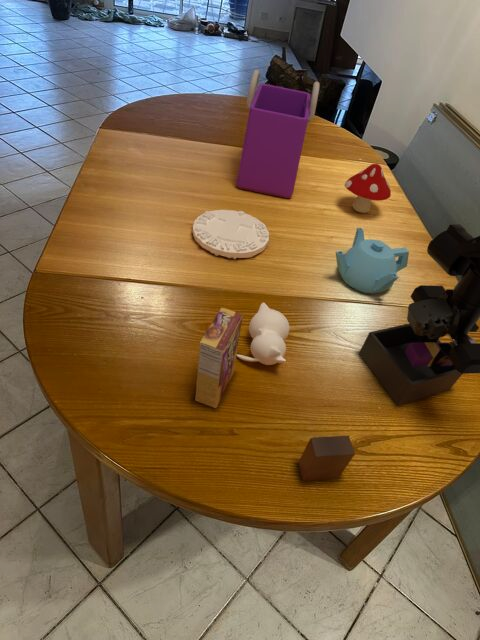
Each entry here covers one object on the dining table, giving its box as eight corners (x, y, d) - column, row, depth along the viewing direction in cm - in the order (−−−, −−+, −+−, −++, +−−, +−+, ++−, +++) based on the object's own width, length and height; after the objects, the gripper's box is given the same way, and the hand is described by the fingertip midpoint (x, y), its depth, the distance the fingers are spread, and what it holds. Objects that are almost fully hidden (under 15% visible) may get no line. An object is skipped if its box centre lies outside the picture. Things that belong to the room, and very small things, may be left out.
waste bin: (449, 389, 83) (466, 369, 78) (397, 406, 78) (411, 385, 73) (408, 341, 91) (421, 320, 86) (358, 353, 86) (369, 332, 82)
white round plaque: (281, 238, 113) (283, 228, 111) (240, 270, 100) (242, 261, 98) (221, 209, 119) (222, 199, 117) (176, 236, 107) (176, 226, 105)
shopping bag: (306, 201, 130) (335, 97, 109) (236, 194, 127) (252, 86, 106) (293, 162, 150) (315, 67, 129) (233, 155, 147) (245, 57, 126)
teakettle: (382, 308, 98) (400, 272, 90) (324, 280, 102) (337, 243, 95) (400, 278, 108) (419, 243, 100) (347, 253, 112) (361, 218, 105)
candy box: (212, 364, 79) (221, 305, 68) (233, 372, 78) (246, 314, 67) (192, 400, 72) (198, 341, 62) (215, 409, 72) (225, 351, 61)
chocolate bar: (442, 351, 80) (448, 342, 78) (451, 366, 77) (458, 357, 75) (404, 351, 78) (409, 342, 76) (412, 366, 76) (418, 357, 74)
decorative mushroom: (339, 218, 125) (356, 170, 115) (334, 196, 135) (349, 150, 125) (385, 225, 126) (405, 178, 116) (377, 203, 136) (395, 158, 126)
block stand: (333, 460, 68) (348, 435, 62) (338, 478, 66) (355, 454, 60) (297, 463, 67) (310, 437, 61) (302, 481, 65) (316, 456, 59)
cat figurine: (280, 341, 72) (280, 294, 81) (224, 354, 76) (230, 308, 84) (296, 370, 78) (295, 323, 86) (244, 381, 81) (248, 335, 90)
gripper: (403, 257, 72) (370, 322, 82) (457, 338, 59) (410, 401, 69) (460, 259, 74) (421, 322, 85) (524, 337, 61) (469, 399, 72)
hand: (428, 357), depth 77 cm, fingers closed on chocolate bar, 4 cm apart
